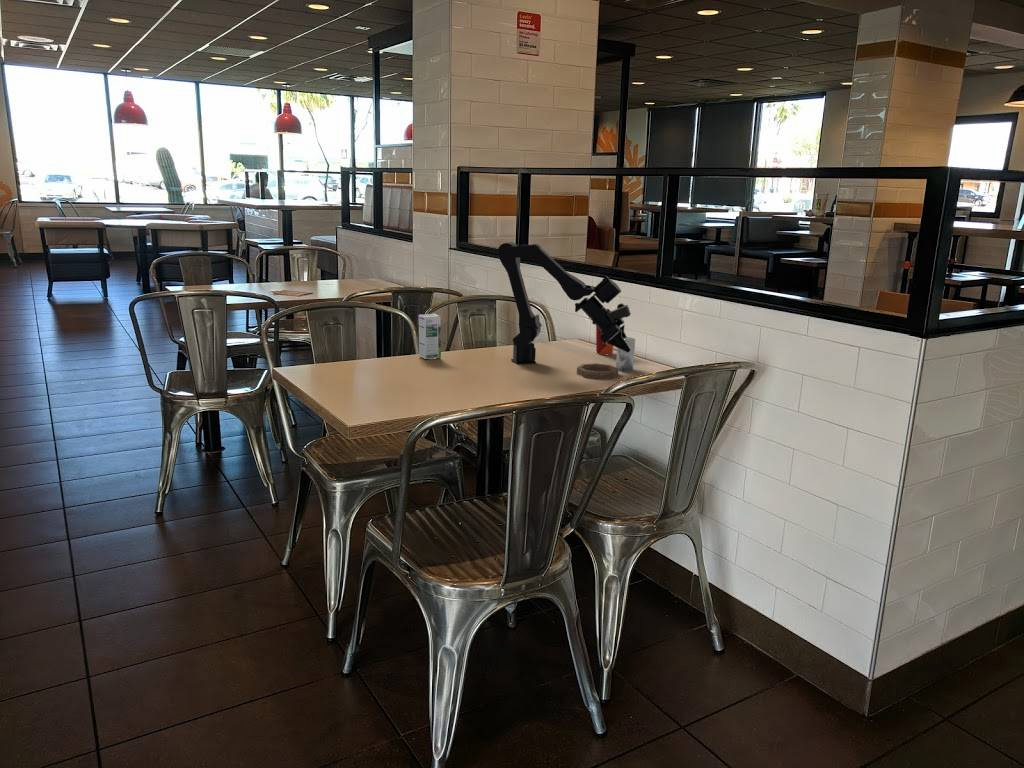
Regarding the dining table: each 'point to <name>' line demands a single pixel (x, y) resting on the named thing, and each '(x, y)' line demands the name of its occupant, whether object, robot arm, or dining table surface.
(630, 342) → the metal tumbler
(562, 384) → the dining table surface
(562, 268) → the robot arm
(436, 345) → the syrup box
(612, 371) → the bore ring
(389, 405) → the dining table surface
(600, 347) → the paper cup
